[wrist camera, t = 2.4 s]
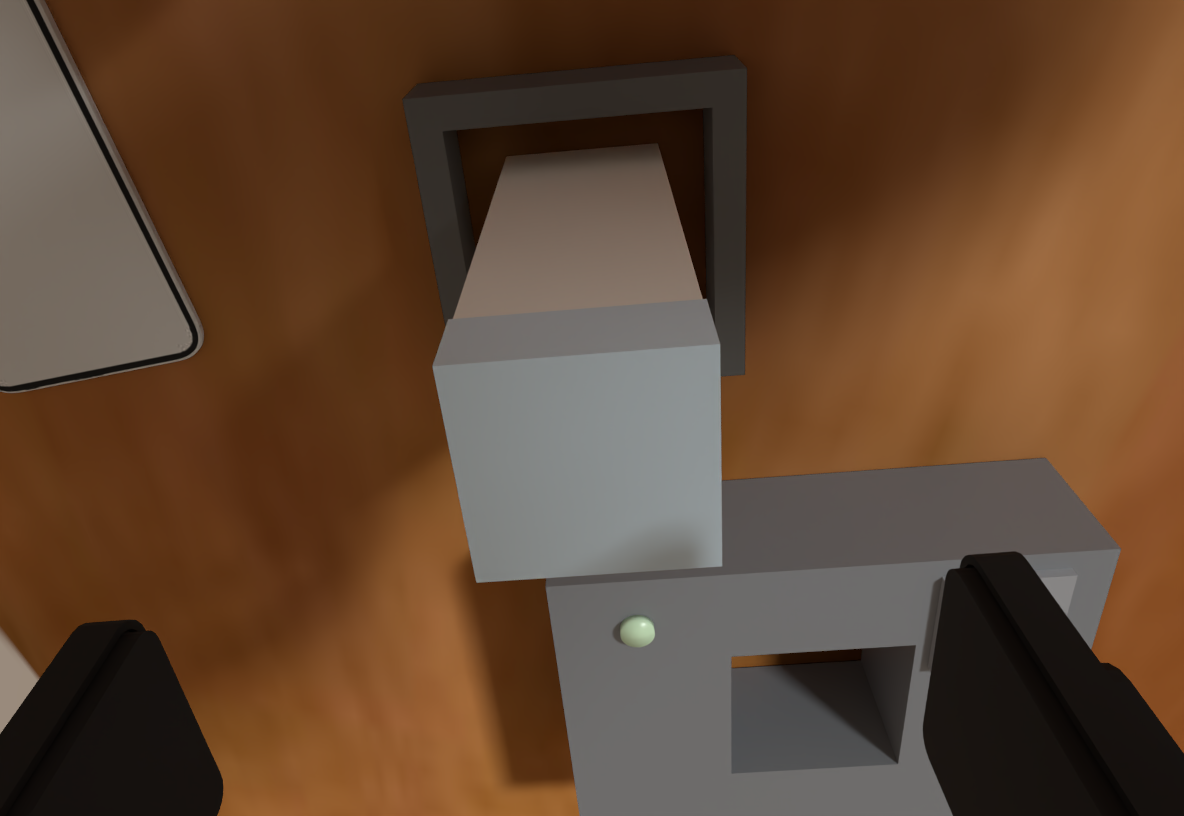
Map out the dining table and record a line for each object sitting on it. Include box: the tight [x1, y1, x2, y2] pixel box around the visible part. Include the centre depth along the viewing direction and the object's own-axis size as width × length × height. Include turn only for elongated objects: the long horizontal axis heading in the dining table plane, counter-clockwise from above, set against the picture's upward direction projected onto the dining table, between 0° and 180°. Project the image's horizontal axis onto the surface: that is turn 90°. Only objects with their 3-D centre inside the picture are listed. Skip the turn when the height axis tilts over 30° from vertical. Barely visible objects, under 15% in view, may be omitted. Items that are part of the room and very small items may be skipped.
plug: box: [432, 143, 722, 583], centre depth 18 cm, size 4×4×12 cm
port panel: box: [546, 458, 1121, 816], centre depth 29 cm, size 16×12×5 cm
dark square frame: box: [402, 55, 747, 376], centre depth 23 cm, size 8×8×2 cm
